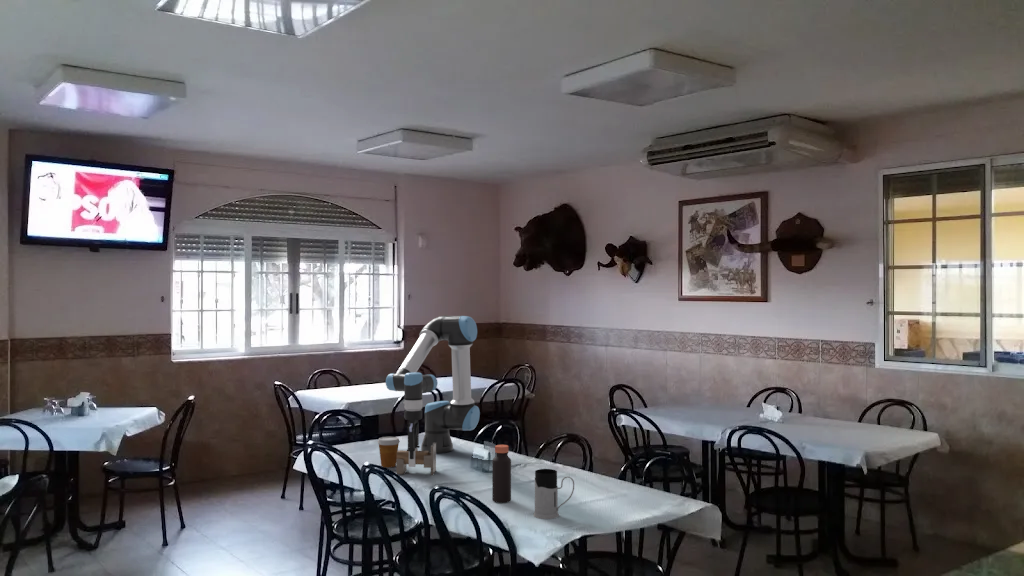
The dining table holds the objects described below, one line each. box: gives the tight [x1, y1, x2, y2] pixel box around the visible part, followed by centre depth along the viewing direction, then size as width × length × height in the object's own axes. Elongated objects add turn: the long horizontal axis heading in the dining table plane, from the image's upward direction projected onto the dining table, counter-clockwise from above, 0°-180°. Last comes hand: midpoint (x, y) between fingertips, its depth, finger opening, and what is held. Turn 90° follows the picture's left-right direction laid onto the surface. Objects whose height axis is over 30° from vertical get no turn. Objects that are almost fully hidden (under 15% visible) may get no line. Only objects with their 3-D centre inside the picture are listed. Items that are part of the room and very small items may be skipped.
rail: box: [397, 449, 429, 466], centre depth 328 cm, size 4×13×5 cm, turn 86°
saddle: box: [395, 459, 408, 476], centre depth 329 cm, size 7×3×6 cm, turn 177°
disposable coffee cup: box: [377, 436, 400, 468], centre depth 341 cm, size 10×10×12 cm
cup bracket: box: [423, 443, 437, 476], centre depth 328 cm, size 8×4×12 cm, turn 177°
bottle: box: [491, 444, 512, 504], centre depth 285 cm, size 7×7×20 cm
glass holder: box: [532, 468, 575, 520], centre depth 266 cm, size 9×14×15 cm, turn 73°
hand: (413, 465), depth 328 cm, fingers open, 5 cm apart
